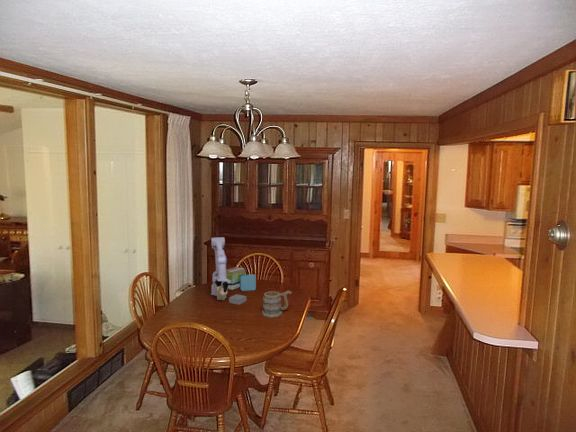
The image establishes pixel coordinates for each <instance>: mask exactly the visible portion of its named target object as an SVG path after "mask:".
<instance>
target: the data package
mask: <svg viewBox="0 0 576 432" xmlns="http://www.w3.org/2000/svg"><path fill="white" fill-rule="evenodd" d="M239 288H240V290H241V292H248V291H256V290H257V277H256V275H255V274H254V273H253V274H252V273H251V274H249V273H248V274H245V275H241V276H240V287H239Z"/></svg>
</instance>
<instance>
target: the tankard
mask: <svg viewBox="0 0 576 432" xmlns="http://www.w3.org/2000/svg"><path fill="white" fill-rule="evenodd" d="M292 293H293V292H292V291H290V290H287V291H284V292H279V291H275V290H274V291H272V290H271V291H266V292H264V293H263V297H262V301H263V304H262V307H263V310H262V311H261V314H262V315H263V317H267V318H278V317H280V316H281V315H282V314H283V311H284V310H287V309H288V306H289V300H288V297H287V295H292ZM282 297H283V301H284V306H282V304H281V301H282Z"/></svg>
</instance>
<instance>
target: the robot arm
mask: <svg viewBox="0 0 576 432" xmlns="http://www.w3.org/2000/svg"><path fill="white" fill-rule="evenodd" d="M225 239H226V238H225V237H224V236H223V237H222V236H221V237H218V236H217V237H211V238H210V241H211V243H210V245H211V249H213V250H214V258H215V271H213V273H212V278H211V279H212V284H211V286H210V287H211V293H210V296H211V295H212V296H215V297H217V287H219V286H222V285H223V290H224V292H227V293H228V289H227V288H228V285H229V283H231V280H228V279H227V278H226V270H227V263H228V262H227V261H228V259H227V258H228V257H227V256H226V253H225V250H224V248H225V245H226V244H225V243H226V240H225Z"/></svg>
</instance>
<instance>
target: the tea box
mask: <svg viewBox="0 0 576 432" xmlns="http://www.w3.org/2000/svg"><path fill="white" fill-rule="evenodd" d="M241 275H246V268H243V267H241V266H240V267H239V266H236V267H232V268H228V269H227V268H226V278H227V279H228V280H231V283H229V285H228V288H227V290H231V291H233V290H235V289H239V288H240V276H241Z"/></svg>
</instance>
